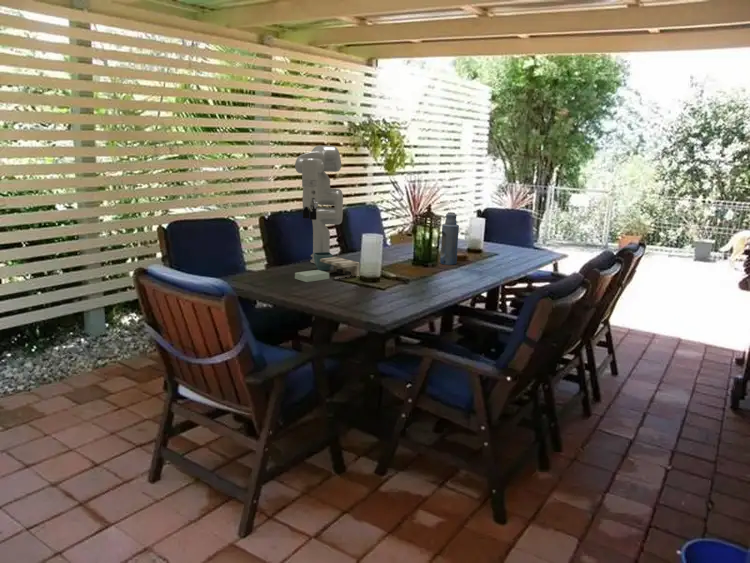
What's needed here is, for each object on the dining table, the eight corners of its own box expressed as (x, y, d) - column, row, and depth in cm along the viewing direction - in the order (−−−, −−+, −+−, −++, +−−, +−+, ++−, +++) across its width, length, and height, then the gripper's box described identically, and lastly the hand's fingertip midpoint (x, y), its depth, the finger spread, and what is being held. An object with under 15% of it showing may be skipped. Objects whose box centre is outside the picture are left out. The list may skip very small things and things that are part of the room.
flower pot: (316, 271, 313) (316, 255, 311) (313, 268, 322) (313, 252, 320) (332, 271, 316) (332, 254, 314) (328, 268, 324) (329, 252, 322)
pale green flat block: (294, 278, 295) (294, 272, 295) (317, 275, 304) (317, 269, 303) (306, 282, 288) (306, 276, 287) (329, 278, 297) (329, 272, 296)
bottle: (437, 262, 349) (439, 211, 343) (452, 261, 352) (455, 211, 346) (444, 265, 340) (446, 213, 334) (459, 264, 343) (462, 213, 337)
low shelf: (315, 273, 309) (315, 259, 307) (336, 270, 318) (336, 256, 316) (338, 280, 294) (338, 265, 293) (359, 276, 303) (359, 262, 301)
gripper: (323, 184, 284) (323, 220, 287) (310, 183, 299) (310, 217, 302) (308, 184, 280) (308, 220, 283) (296, 183, 295) (296, 217, 298)
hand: (309, 218), depth 293 cm, fingers open, 9 cm apart
